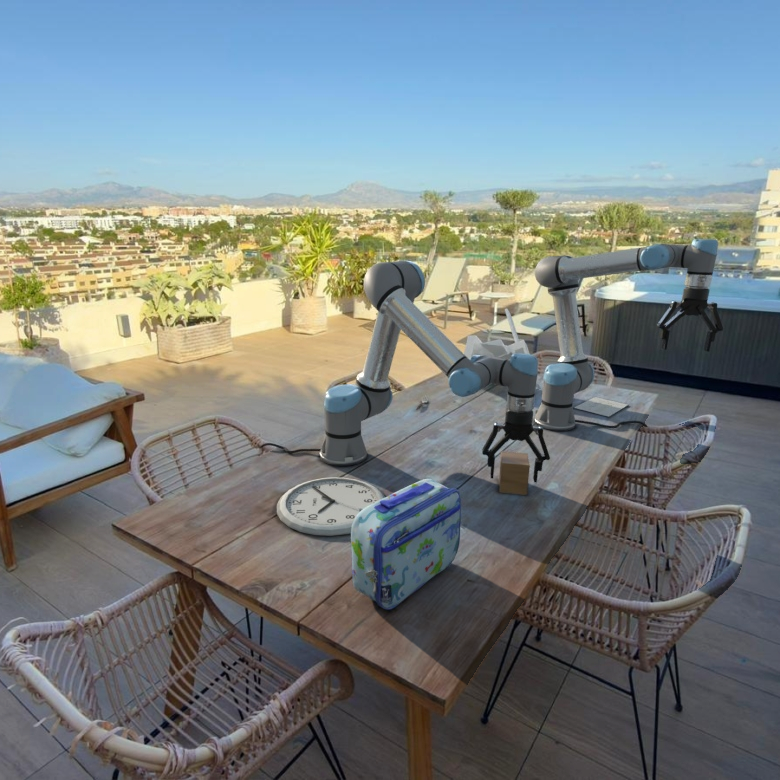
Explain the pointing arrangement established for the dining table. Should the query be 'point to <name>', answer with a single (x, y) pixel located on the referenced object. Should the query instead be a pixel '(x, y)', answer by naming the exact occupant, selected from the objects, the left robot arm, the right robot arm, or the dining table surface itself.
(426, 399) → the fork
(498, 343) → the white plastic object
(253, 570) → the dining table surface
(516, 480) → the brown block
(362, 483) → the wall clock
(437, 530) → the lunch box
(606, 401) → the invitation card
